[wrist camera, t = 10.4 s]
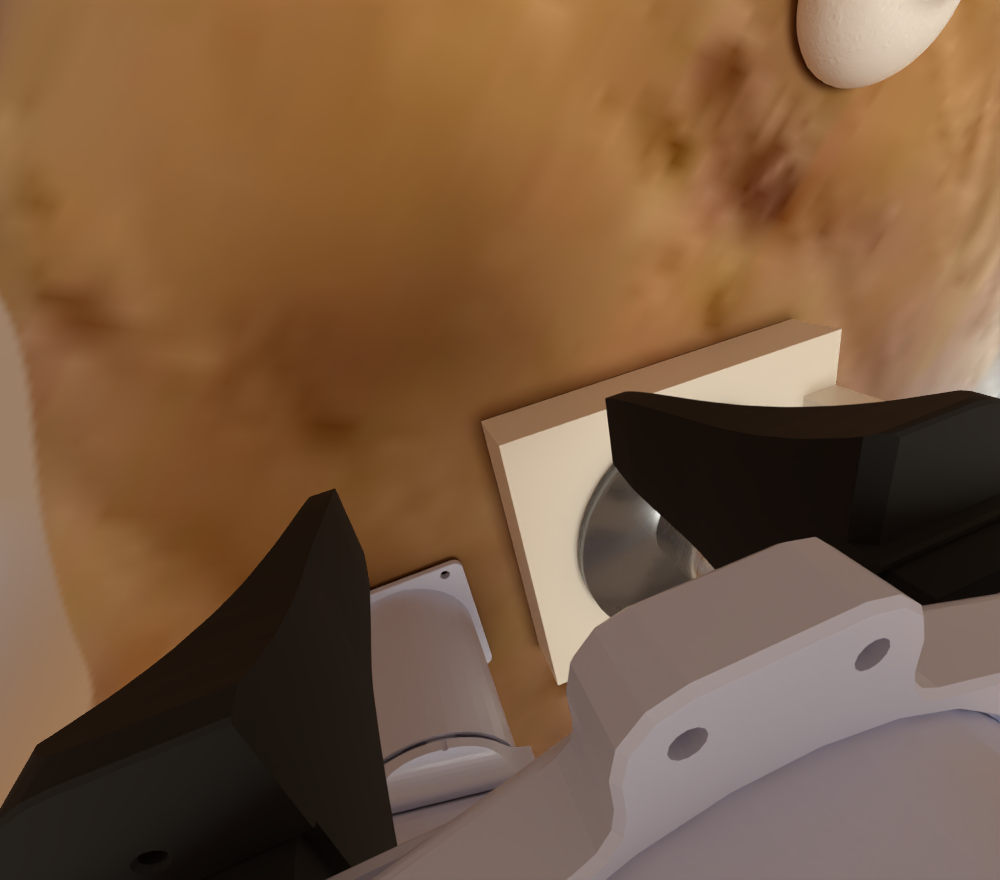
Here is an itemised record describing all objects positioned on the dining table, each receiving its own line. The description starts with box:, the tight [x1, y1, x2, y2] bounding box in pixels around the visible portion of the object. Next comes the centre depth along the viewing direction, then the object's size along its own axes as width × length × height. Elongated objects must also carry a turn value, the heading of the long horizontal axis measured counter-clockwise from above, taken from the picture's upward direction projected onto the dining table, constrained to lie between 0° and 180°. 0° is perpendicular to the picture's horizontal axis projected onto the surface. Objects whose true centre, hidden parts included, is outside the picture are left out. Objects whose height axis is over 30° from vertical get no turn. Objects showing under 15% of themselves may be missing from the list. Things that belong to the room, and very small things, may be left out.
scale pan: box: [578, 465, 690, 617], centre depth 25 cm, size 13×13×1 cm
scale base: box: [481, 319, 884, 685], centre depth 26 cm, size 18×16×6 cm
